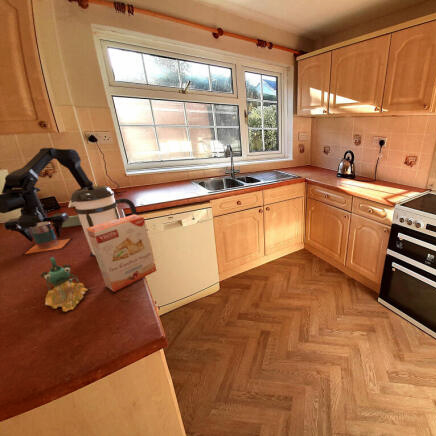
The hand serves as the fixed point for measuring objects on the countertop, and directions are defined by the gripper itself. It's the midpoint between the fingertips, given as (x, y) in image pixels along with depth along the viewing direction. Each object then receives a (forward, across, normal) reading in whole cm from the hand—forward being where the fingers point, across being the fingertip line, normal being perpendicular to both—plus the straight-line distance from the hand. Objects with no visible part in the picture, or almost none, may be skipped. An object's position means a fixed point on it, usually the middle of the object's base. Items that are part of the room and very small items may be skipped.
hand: (45, 239), depth 104 cm
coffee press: (+4, +28, -18) cm, 33 cm away
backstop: (+4, +1, +25) cm, 25 cm away
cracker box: (+4, +38, -43) cm, 58 cm away
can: (+3, 0, 0) cm, 3 cm away
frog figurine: (+4, +21, -45) cm, 50 cm away
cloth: (+4, 0, 0) cm, 4 cm away
